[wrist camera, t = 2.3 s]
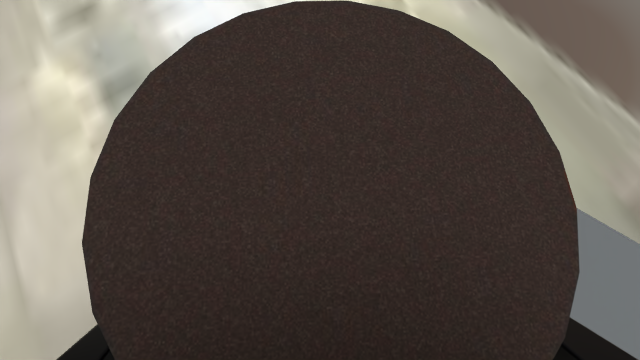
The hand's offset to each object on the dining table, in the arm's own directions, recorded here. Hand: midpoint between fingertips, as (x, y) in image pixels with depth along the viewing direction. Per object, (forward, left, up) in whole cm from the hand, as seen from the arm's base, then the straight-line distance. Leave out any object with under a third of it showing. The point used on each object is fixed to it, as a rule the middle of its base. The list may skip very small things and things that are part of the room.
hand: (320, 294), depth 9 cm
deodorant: (+1, +1, -9) cm, 9 cm away
